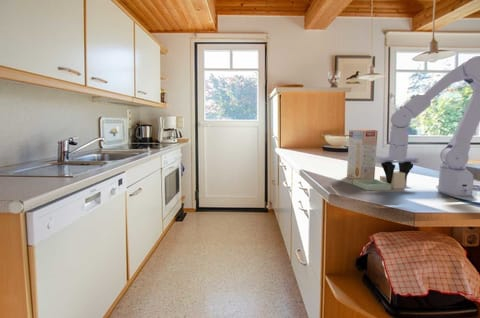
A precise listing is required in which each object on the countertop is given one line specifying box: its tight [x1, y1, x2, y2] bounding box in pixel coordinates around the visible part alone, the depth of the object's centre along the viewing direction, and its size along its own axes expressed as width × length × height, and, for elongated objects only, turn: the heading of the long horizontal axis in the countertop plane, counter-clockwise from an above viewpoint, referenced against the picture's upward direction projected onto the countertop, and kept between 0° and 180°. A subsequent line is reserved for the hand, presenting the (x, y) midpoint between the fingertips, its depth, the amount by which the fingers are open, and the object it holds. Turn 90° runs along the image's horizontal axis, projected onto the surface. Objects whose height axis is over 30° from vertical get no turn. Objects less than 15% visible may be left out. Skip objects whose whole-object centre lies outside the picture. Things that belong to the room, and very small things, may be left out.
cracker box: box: [346, 128, 378, 181], centre depth 124 cm, size 14×6×21 cm, turn 1°
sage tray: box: [352, 178, 392, 191], centre depth 113 cm, size 10×9×2 cm
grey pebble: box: [379, 175, 387, 183], centre depth 116 cm, size 3×3×3 cm
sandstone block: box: [388, 170, 406, 190], centre depth 111 cm, size 4×4×6 cm
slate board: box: [391, 185, 411, 190], centre depth 114 cm, size 8×8×1 cm
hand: (395, 182), depth 112 cm, fingers open, 4 cm apart
